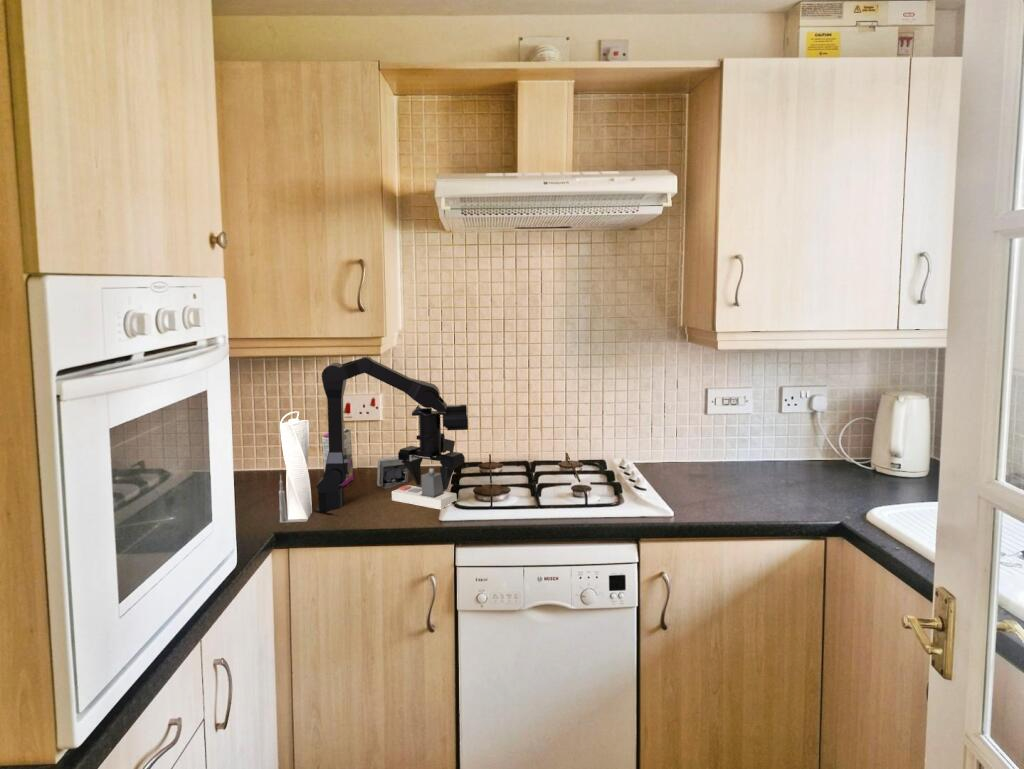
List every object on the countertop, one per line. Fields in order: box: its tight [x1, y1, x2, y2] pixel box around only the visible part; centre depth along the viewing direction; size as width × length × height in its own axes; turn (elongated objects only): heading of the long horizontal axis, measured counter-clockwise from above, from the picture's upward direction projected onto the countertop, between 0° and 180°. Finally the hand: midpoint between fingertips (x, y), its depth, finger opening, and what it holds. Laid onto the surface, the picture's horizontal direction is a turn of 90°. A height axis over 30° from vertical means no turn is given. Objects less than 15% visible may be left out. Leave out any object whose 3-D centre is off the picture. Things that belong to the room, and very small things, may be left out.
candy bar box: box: [321, 427, 355, 488], centre depth 225 cm, size 11×5×16 cm, turn 170°
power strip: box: [391, 484, 458, 510], centre depth 206 cm, size 7×17×4 cm, turn 58°
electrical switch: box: [376, 455, 409, 490], centre depth 223 cm, size 9×5×9 cm, turn 113°
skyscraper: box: [278, 410, 313, 523], centre depth 196 cm, size 8×8×28 cm
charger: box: [421, 467, 444, 498], centre depth 203 cm, size 4×4×10 cm
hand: (431, 487), depth 203 cm, fingers open, 9 cm apart
